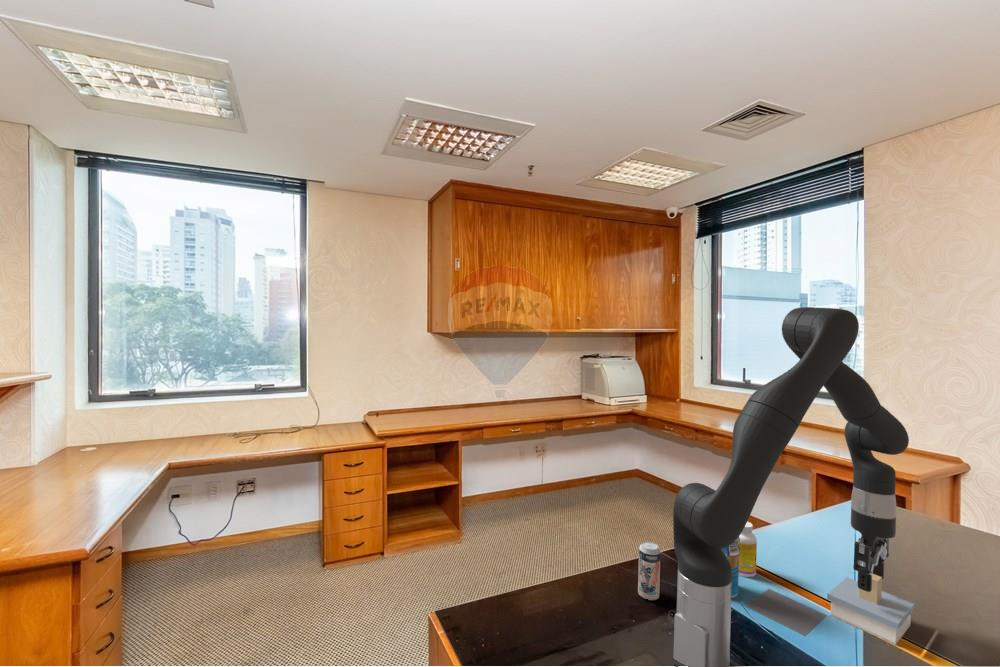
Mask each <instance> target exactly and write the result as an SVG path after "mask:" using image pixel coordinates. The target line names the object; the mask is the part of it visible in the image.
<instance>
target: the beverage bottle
mask: <svg viewBox="0 0 1000 667" xmlns="http://www.w3.org/2000/svg"><path fill="white" fill-rule="evenodd" d="M739 542H740V538H739V537H738V538H737V539H736V540H735V542H734V543H732V544H731V545H729V546H728V547H725V548H721V549H722V551H723V553H724V554H725V556H726V557H727V559H728V560H729V562H730V564H731V567H732V588H731V599H733V598H735V597H737V596H738V595H739V575H738V574H739V555H740V547H739V545H738V543H739Z"/></svg>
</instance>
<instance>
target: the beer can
mask: <svg viewBox="0 0 1000 667" xmlns="http://www.w3.org/2000/svg"><path fill="white" fill-rule="evenodd" d="M660 574H661V549H660V547H659V546H658V544H656V543H655V542H651V541H643V542H641V543H640V545H639V549H638V584H637V594H638V595H639V596H640V597H641V598H643V600H646V599H648V600H647V601H656V600H658V599H659V598H660V581H661V580H660V579H661V578H660V576H661V575H660Z"/></svg>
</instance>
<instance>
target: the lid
mask: <svg viewBox="0 0 1000 667" xmlns="http://www.w3.org/2000/svg"><path fill="white" fill-rule="evenodd" d="M882 583H883V579H882V577H880V576H878V575H875V574H872V590H871V591H870V592H867V591H864V590H862V589H860V588H858V580H854V579H852V578H851V577H846V578H844V579H843V580H841V582H839V583H838V584H837V585H836V586H835V587H834V588H832V589H830V591H829V592H828V593H827V594H826V600H828V601H830V602H831V601H833V602H835V603H837V604H840V605H842V606H844V607H846V608H849V609H851V610H853V611H856V612H858V613H860V614H863V615H865V616H867V617H869V618H872V619H874V620H876V621H879V622H881V623H883V624H886V625H888V626H890V627H892V628H895V629H897V630H898V629H899V628H900V627H901V626H902V624H903V623H904V622H905V621H906V619H907V618H908V617H909V616H910V614H912V613H913V612H914V611H915V604H916V603H914V602H912V601H908V600H906V599H904V598H901V597H899V596H897V595H893V594H891V593H888V592H886V591H884V590H882V586H883V584H882Z"/></svg>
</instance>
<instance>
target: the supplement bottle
mask: <svg viewBox="0 0 1000 667" xmlns="http://www.w3.org/2000/svg"><path fill="white" fill-rule="evenodd" d="M753 528H754V525H753V523H751V522H749V520H748V521H747V523H746V525H745V527H744V529H743V531H742V532H741V534H740V536H739V538H740V542H739V543H738V545H739V547H740V555H739V574H738V577H739V576H740V577H743V578H752V577H755V576H756V574H757V551H758V550H757V549H758V548H757V544H758V542H757V541H758V540H757V537H756V535H755V533H753V530H754V529H753Z"/></svg>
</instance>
